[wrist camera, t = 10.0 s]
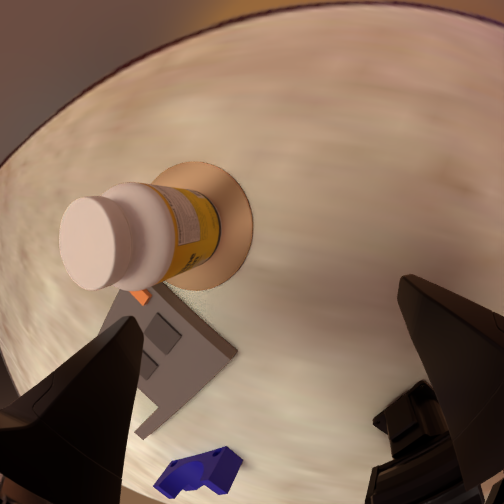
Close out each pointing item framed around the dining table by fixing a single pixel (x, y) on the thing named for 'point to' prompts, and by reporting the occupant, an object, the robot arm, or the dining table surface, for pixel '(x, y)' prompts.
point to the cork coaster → (232, 218)
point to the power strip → (170, 349)
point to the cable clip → (200, 473)
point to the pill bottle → (137, 235)
